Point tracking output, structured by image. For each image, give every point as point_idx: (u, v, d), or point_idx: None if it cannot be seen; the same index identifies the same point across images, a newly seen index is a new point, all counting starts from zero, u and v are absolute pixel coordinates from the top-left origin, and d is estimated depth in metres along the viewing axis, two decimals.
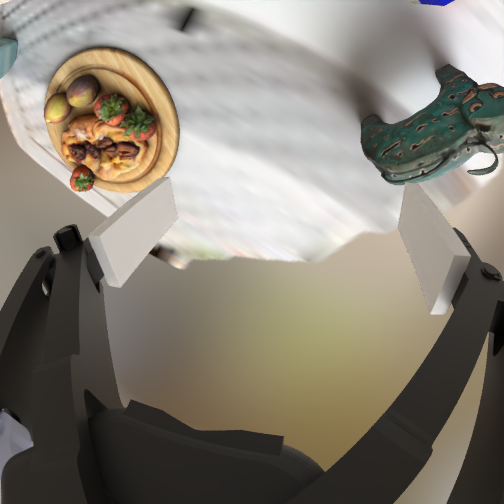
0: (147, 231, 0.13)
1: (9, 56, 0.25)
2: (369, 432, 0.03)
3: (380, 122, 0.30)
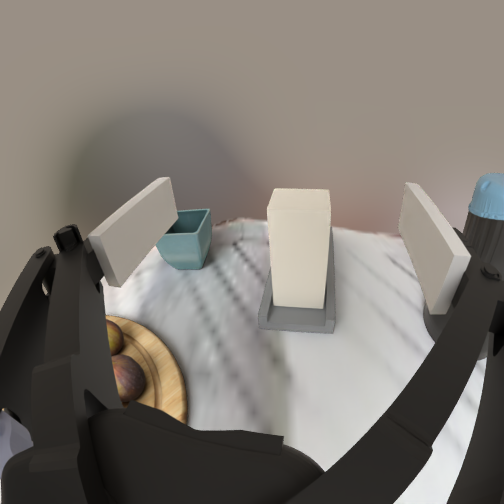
0: (147, 231, 0.13)
1: (183, 260, 0.48)
2: (369, 432, 0.03)
3: None
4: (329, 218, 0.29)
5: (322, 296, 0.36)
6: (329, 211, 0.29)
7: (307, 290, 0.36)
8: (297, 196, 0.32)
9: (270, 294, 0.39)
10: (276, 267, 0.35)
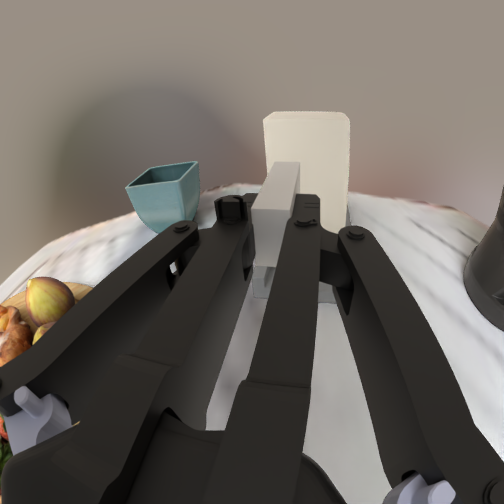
0: None
1: (163, 219, 0.38)
2: (235, 400, 0.04)
3: None
4: (348, 131, 0.20)
5: None
6: (347, 121, 0.19)
7: None
8: (304, 114, 0.23)
9: None
10: None
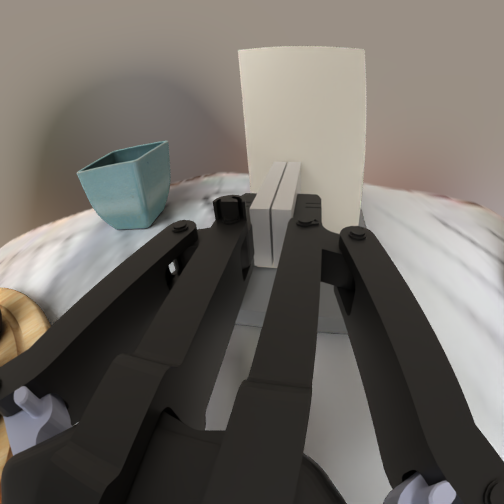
0: None
1: (120, 212, 0.29)
2: (236, 400, 0.04)
3: None
4: (363, 64, 0.11)
5: None
6: (361, 50, 0.11)
7: None
8: None
9: None
10: (260, 176, 0.17)
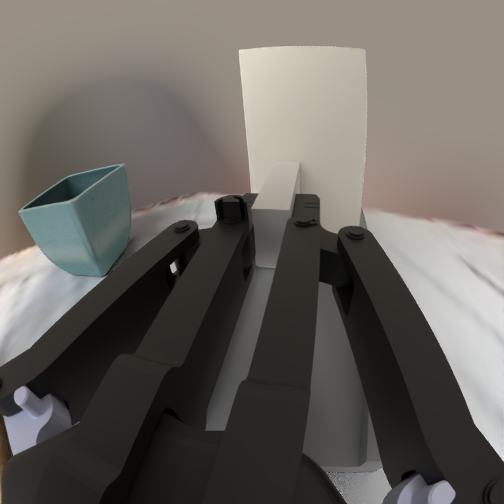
0: None
1: (69, 259, 0.21)
2: (235, 400, 0.04)
3: None
4: (364, 64, 0.11)
5: None
6: (362, 50, 0.11)
7: None
8: None
9: None
10: (261, 176, 0.17)
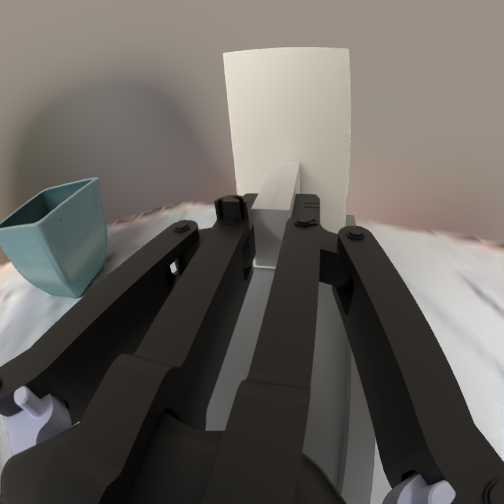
0: None
1: (43, 280, 0.19)
2: (235, 400, 0.04)
3: None
4: (347, 63, 0.12)
5: None
6: (346, 50, 0.11)
7: None
8: None
9: None
10: (246, 177, 0.17)
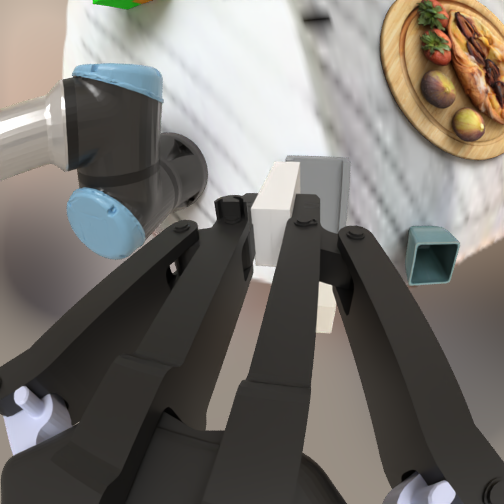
0: None
1: (426, 228, 0.42)
2: (235, 400, 0.04)
3: None
4: None
5: None
6: None
7: None
8: None
9: (343, 186, 0.42)
10: None
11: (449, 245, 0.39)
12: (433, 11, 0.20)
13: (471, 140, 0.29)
